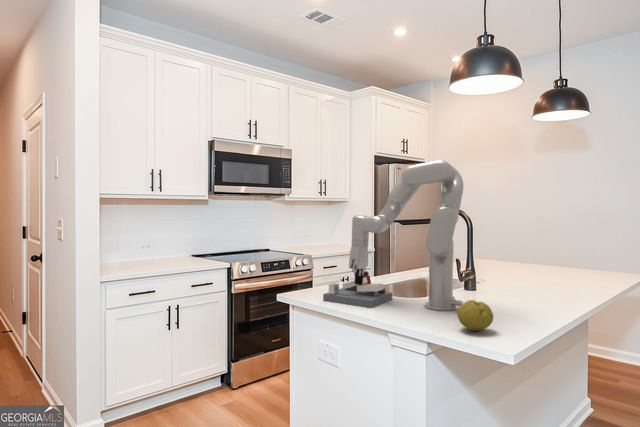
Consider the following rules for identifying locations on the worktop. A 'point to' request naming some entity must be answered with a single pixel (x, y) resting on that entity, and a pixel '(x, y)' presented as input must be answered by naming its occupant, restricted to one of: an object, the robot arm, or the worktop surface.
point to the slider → (333, 288)
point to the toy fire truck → (367, 277)
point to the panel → (358, 297)
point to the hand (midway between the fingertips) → (358, 284)
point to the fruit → (475, 315)
